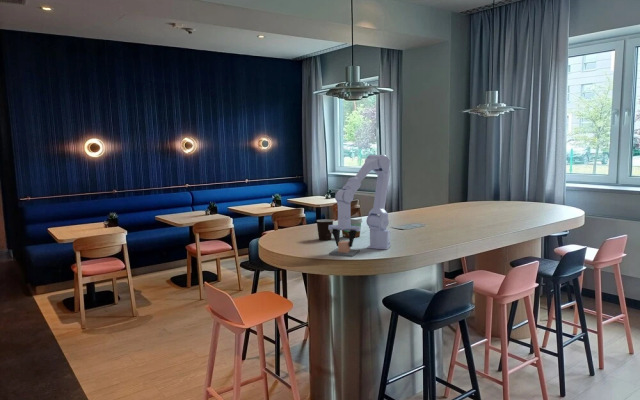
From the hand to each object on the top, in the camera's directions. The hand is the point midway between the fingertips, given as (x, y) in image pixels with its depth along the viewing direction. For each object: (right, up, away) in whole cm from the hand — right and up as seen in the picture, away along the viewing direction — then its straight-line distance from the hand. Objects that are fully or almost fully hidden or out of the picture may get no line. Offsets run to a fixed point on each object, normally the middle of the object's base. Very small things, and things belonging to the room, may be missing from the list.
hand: (344, 246), depth 212 cm
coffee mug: (-7, 0, +34) cm, 35 cm away
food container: (+6, +1, +38) cm, 39 cm away
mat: (0, -3, 0) cm, 3 cm away
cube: (0, -2, 0) cm, 2 cm away
